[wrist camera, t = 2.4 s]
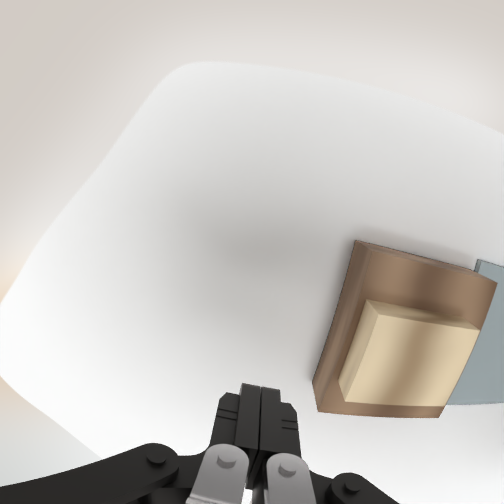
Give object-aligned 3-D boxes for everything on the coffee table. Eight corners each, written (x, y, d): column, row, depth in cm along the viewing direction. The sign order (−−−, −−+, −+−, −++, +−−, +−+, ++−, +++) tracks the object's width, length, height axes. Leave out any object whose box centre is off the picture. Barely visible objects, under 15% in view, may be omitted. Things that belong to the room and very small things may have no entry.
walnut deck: (470, 269, 22) (497, 282, 18) (422, 392, 25) (438, 417, 21) (355, 240, 22) (372, 250, 18) (312, 382, 25) (317, 411, 21)
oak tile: (462, 317, 19) (480, 330, 16) (431, 388, 20) (444, 406, 18) (366, 299, 19) (378, 314, 16) (337, 379, 20) (344, 401, 18)
